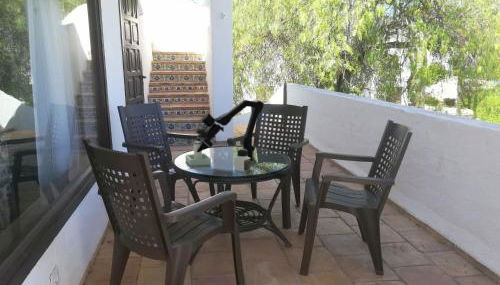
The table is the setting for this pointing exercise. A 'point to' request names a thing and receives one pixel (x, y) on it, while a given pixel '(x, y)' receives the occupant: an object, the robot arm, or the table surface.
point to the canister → (196, 145)
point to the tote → (198, 160)
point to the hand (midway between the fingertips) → (195, 150)
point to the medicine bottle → (242, 161)
